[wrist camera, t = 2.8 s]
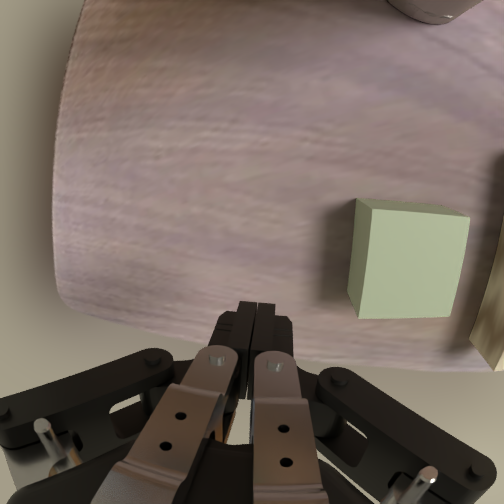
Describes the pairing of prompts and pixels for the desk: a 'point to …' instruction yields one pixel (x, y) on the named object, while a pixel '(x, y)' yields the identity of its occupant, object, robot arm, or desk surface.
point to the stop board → (492, 314)
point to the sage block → (405, 259)
